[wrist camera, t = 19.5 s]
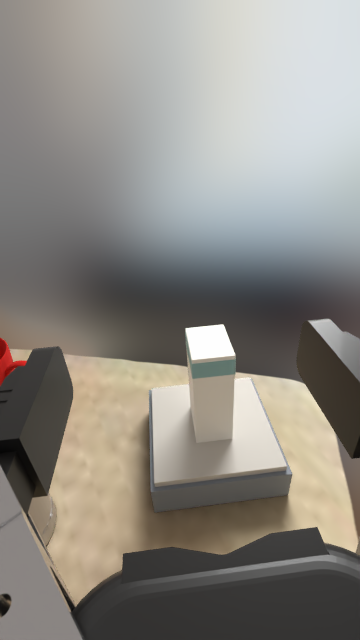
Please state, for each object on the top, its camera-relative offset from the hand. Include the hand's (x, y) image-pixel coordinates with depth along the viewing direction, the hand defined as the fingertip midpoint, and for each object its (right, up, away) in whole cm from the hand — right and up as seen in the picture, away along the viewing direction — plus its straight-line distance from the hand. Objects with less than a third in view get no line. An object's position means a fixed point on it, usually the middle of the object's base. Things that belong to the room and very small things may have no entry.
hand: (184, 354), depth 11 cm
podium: (+4, -16, +34) cm, 38 cm away
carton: (+4, -12, +31) cm, 34 cm away
